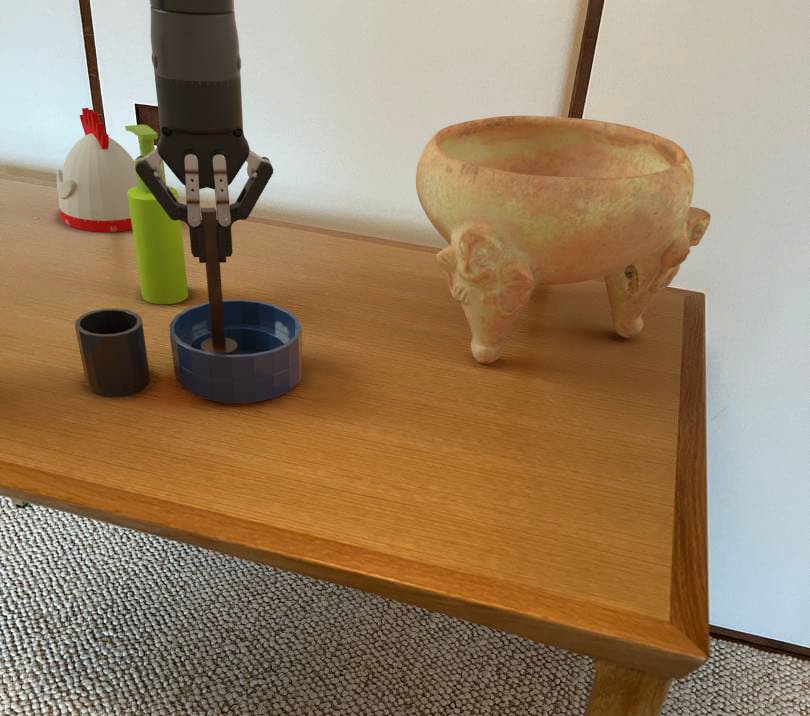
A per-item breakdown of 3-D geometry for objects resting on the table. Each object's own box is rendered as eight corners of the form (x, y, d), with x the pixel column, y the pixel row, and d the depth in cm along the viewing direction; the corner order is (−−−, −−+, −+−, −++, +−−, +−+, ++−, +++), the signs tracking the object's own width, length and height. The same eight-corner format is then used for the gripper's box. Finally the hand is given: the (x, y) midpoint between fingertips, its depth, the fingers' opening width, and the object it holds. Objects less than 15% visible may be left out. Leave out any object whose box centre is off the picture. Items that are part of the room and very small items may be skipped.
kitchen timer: (132, 197, 135) (118, 96, 125) (169, 223, 127) (157, 117, 117) (47, 209, 128) (26, 103, 118) (81, 237, 120) (61, 126, 110)
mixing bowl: (177, 411, 85) (170, 359, 81) (174, 349, 95) (168, 301, 92) (310, 404, 88) (309, 353, 84) (293, 344, 99) (292, 297, 95)
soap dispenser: (173, 280, 111) (155, 119, 98) (195, 299, 106) (179, 133, 94) (131, 288, 108) (107, 123, 95) (153, 308, 104) (130, 138, 91)
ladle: (202, 370, 89) (188, 216, 78) (200, 353, 92) (186, 203, 81) (240, 369, 90) (230, 216, 79) (236, 352, 93) (227, 203, 82)
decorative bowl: (589, 266, 126) (625, 101, 111) (709, 376, 100) (777, 180, 85) (374, 274, 117) (383, 96, 103) (445, 395, 92) (470, 182, 77)
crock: (85, 398, 86) (72, 337, 81) (88, 368, 91) (77, 309, 86) (150, 395, 87) (141, 334, 83) (150, 365, 92) (141, 307, 88)
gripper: (269, 62, 77) (274, 245, 88) (118, 56, 73) (143, 247, 85) (279, 80, 71) (283, 273, 82) (116, 74, 68) (143, 276, 79)
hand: (212, 259), depth 83 cm, fingers closed on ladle, 1 cm apart
